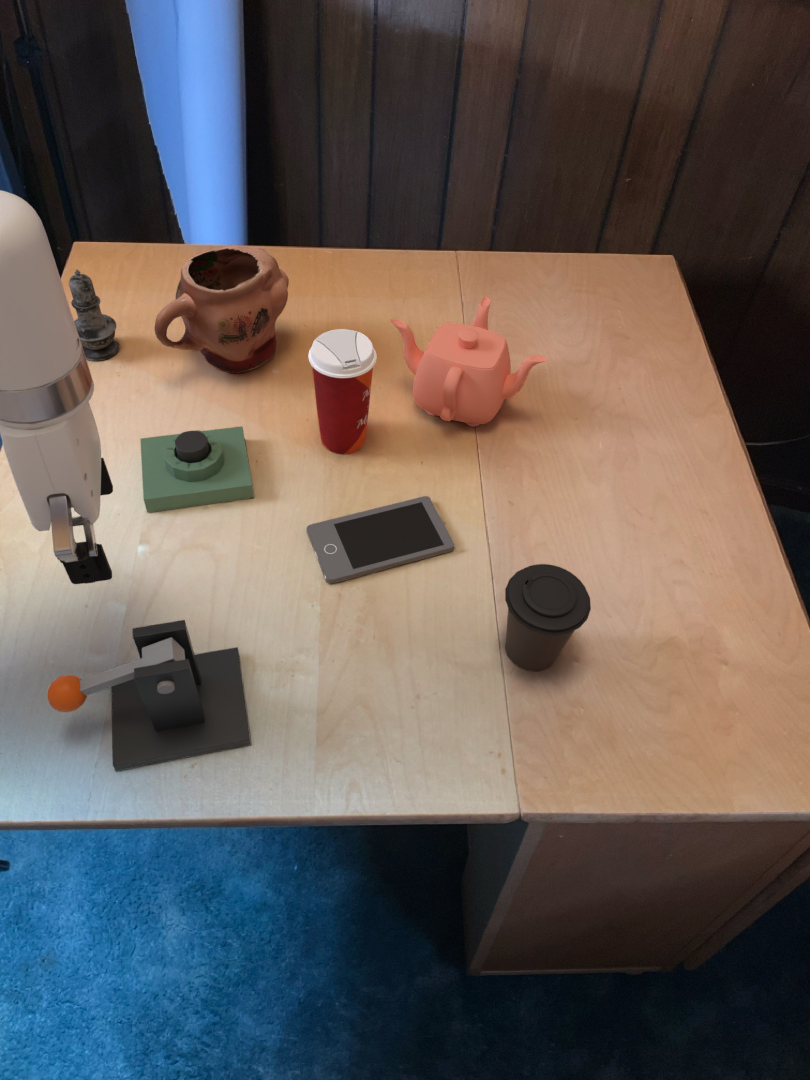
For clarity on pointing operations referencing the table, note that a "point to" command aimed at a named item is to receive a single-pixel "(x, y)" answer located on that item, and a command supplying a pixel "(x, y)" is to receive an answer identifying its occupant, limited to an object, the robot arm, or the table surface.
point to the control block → (195, 471)
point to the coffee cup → (543, 614)
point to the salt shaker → (92, 320)
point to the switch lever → (108, 676)
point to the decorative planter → (228, 307)
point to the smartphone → (379, 539)
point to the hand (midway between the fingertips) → (94, 534)
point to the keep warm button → (192, 446)
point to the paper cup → (342, 387)
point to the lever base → (178, 703)
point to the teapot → (463, 370)
